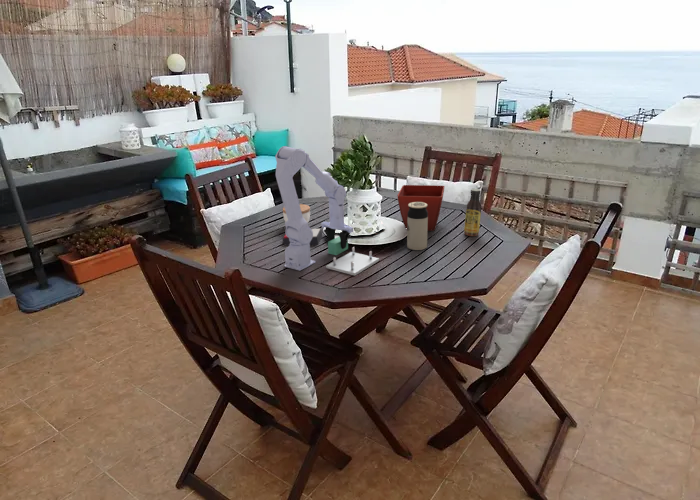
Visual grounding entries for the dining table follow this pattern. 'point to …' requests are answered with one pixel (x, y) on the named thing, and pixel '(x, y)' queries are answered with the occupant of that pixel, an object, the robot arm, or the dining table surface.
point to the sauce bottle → (473, 214)
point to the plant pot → (421, 194)
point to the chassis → (352, 262)
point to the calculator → (315, 240)
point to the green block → (336, 246)
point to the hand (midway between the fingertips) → (338, 246)
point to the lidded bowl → (304, 209)
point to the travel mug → (417, 226)
